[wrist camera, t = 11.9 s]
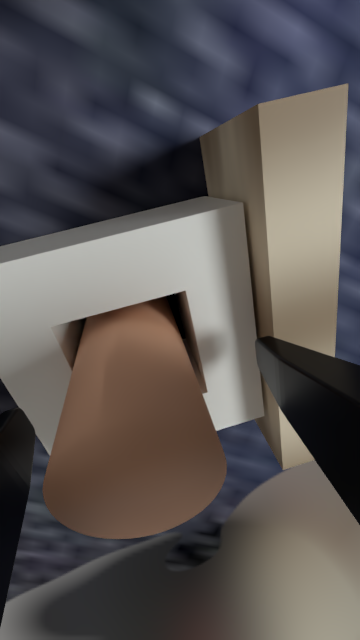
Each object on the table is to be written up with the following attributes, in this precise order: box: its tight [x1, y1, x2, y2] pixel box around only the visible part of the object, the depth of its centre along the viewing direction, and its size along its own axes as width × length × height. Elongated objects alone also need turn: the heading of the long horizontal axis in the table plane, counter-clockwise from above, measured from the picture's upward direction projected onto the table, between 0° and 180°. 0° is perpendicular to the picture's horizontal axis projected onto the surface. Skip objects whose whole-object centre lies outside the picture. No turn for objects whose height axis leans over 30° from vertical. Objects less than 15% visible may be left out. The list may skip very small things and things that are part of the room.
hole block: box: [0, 196, 264, 455], centre depth 11 cm, size 8×8×4 cm
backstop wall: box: [199, 84, 348, 470], centre depth 11 cm, size 12×2×5 cm, turn 12°
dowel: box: [43, 296, 227, 539], centre depth 9 cm, size 4×4×8 cm
